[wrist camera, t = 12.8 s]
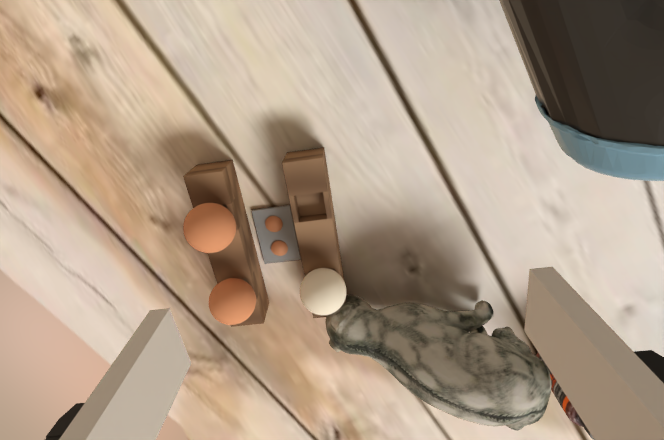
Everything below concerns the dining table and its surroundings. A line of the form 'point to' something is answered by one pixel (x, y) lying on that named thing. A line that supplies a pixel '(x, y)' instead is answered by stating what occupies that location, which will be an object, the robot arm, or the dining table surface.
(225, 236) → the rust ball
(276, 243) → the card
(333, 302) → the cream ball
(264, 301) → the rack
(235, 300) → the rust ball
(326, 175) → the rack
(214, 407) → the dining table surface
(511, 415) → the figurine
